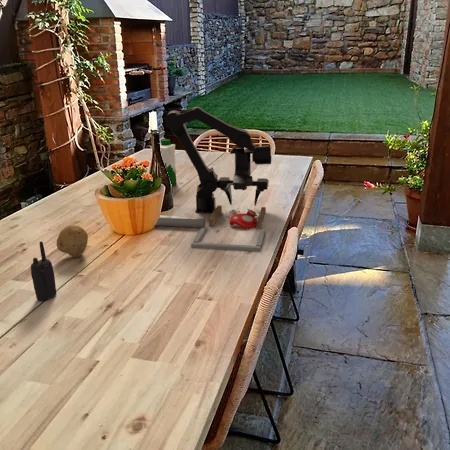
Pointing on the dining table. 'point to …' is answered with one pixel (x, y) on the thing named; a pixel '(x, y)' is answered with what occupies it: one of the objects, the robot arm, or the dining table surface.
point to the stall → (219, 210)
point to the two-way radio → (43, 276)
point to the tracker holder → (244, 220)
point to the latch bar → (181, 221)
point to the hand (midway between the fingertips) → (243, 205)
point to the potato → (72, 240)
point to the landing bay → (227, 246)
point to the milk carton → (169, 159)
